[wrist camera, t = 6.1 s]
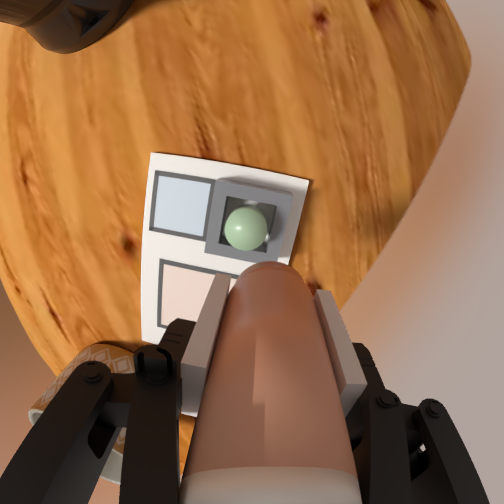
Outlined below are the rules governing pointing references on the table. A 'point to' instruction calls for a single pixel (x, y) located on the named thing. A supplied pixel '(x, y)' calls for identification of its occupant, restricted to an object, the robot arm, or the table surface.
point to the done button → (246, 227)
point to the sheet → (195, 234)
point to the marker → (270, 403)
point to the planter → (117, 363)
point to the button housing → (252, 192)
